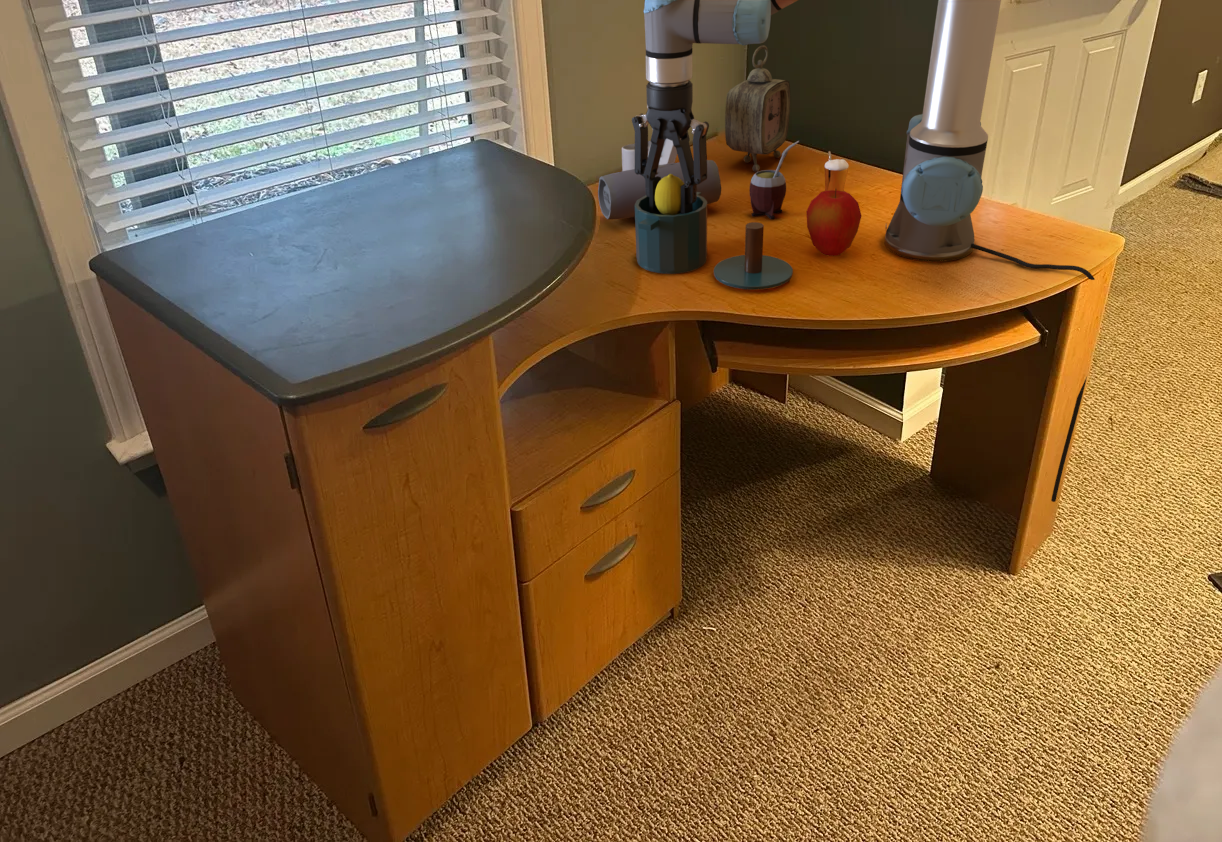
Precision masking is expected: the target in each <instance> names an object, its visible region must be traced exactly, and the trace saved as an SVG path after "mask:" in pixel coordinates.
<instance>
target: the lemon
mask: <svg viewBox="0 0 1222 842" xmlns="http://www.w3.org/2000/svg"><path fill="white" fill-rule="evenodd" d="M683 184H684V183H683V181H682V180H681V179H680V178H678V177H676V176H674V175H673V174H669V175H668V176H666V177H664V178H662V179H661V180H660V181H659V182H658V184H657V187H656V191H655V203H656V206H657V208H658V210H659V211H660V212H661V213H662V214H663V215H678V214H680V213H681V186H682V185H683Z"/></svg>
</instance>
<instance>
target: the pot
mask: <svg viewBox="0 0 1222 842" xmlns="http://www.w3.org/2000/svg"><path fill="white" fill-rule="evenodd" d="M696 194H697V199H696V202H694V203H693V204H692V212H689V213H686V214H681V213H680V214H678V215H663V214H662V213H660V214H653V213H650V201H649V197H647V196H643V197H642V198H640V199H638V200H637V201H636V203H635V218H634V223H635V224H634V225H635V226H634V227H635V229H634V230H635V254H636V255H635V257H636V262H637V265H638V266H639V267H640V268H642V269H644V270H646V271H648V272H651V273H656V274H662V275H663V274H665V275H667V274H668V275H675V274H685V273H688V272H692V271H695V270H698V269H700V268H702V267H703V266H704V265H705V264H706V263H707V257H708V204H707V201H706V200H705V198H704V197H702V196H701V192H697V193H696Z"/></svg>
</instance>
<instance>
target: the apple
mask: <svg viewBox="0 0 1222 842" xmlns="http://www.w3.org/2000/svg"><path fill="white" fill-rule="evenodd" d="M805 214H806V228H807V231H808V234H809V237H810V240H811V243H812V246H813V247H814V248H815V249H816V250H817V251H818V252H819V253H820V254H822V255H824V256H827V257H838V256H841V255H842V254H844V253H845V252H846V251H847V250H848V249H849V248H851V246H852V244H853V242H854V240H855V237H856V235H857V233H858V232H859V228H860V224H861V220H862V212H861V208H860V205H859V202H858V200H856V198H855V197H854V196H853V195H852V194H851V193H849V192H847V191H845V190H844V191H836V189H835V191H834V190H829V191H825V190H823V191H821V192H819V193H818V194H817V195H816V196H815V197H814V198H813V199H812V200H811V201H810V202H809V205H808V207H807V210H806V213H805Z"/></svg>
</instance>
